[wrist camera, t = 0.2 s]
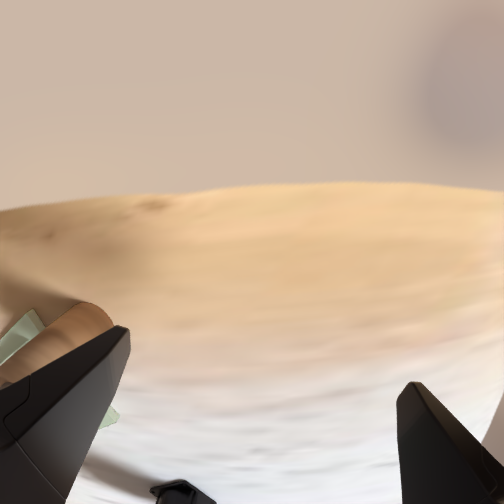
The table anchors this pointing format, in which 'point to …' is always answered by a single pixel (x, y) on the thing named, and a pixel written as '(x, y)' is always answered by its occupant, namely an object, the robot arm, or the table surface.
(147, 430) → the table surface
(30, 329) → the sage tray
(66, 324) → the pepper mill
